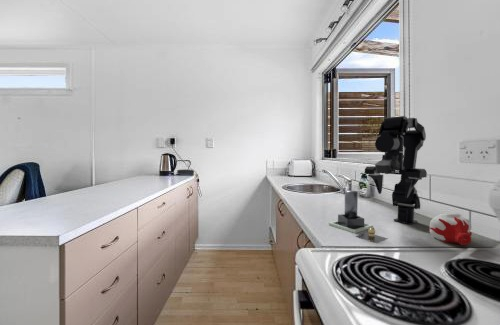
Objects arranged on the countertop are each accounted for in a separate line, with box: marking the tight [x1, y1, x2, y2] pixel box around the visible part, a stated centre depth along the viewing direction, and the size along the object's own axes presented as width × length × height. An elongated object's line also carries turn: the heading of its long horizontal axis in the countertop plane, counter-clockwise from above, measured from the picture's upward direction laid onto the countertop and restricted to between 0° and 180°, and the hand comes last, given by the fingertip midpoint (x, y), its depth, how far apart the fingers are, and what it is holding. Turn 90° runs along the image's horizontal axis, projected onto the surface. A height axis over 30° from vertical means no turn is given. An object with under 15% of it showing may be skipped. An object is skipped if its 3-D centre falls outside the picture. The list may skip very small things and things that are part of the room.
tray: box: [328, 220, 374, 234], centre depth 90 cm, size 11×11×2 cm
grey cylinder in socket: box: [337, 189, 365, 230], centre depth 90 cm, size 7×7×14 cm
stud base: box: [354, 227, 388, 244], centre depth 78 cm, size 7×7×4 cm
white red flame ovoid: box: [428, 212, 473, 246], centre depth 76 cm, size 9×11×15 cm
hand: (392, 195), depth 87 cm, fingers open, 9 cm apart
